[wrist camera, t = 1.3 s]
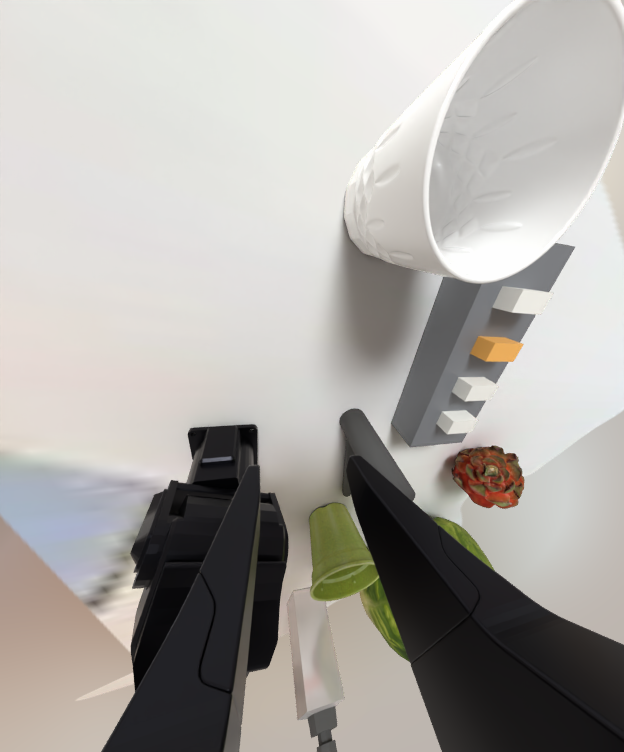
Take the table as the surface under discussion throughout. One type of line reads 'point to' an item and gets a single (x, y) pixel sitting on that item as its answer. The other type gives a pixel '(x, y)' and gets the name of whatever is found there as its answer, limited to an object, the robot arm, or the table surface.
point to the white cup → (497, 146)
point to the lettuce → (378, 602)
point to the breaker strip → (471, 349)
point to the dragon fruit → (489, 476)
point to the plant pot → (338, 555)
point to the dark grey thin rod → (345, 482)
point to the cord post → (373, 449)
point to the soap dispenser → (314, 666)
